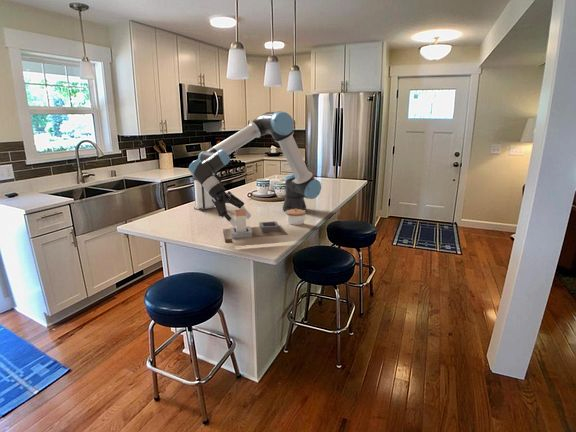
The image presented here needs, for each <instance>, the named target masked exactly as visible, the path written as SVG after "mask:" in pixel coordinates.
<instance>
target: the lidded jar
mask: <svg viewBox="0 0 576 432" xmlns="http://www.w3.org/2000/svg"><path fill="white" fill-rule="evenodd" d="M285 219H286V222H287V223H288V225H292V226H294V225H295V226H299V225H303V224H304V223H305V220H306V211H304V210H300V209H297V208H295V209H291V210H287V211H286V212H285Z"/></svg>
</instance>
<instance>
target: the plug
mask: <svg viewBox="0 0 576 432" xmlns="http://www.w3.org/2000/svg"><path fill="white" fill-rule="evenodd" d="M239 209H240V208H239ZM239 209H234V212H235V213H234V214H235V216H234V217H235V218H234V219H235V220H236V221H237V222H238V224H237V225H236V226H235V227H236V232H246V227H247V218H246V211H245V209H246V208H245V209H240V210H239Z"/></svg>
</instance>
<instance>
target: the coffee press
mask: <svg viewBox="0 0 576 432" xmlns="http://www.w3.org/2000/svg"><path fill="white" fill-rule="evenodd" d="M213 175H214V176H215V177H216V178H217V180H218V181H219V183H221V184H222V180H221V177H220V175H217V174H215V173H214V174H213ZM193 186H194V198H195V200H194V201H195V205H194V207H193V209H194V210H196V209H202V212H206V209H212V208H213V209H215V210H217V209H216V207H215V205H214V203H213V201H212V199H213V198H212V197H211V196H210V195H209V192H207V191H206V190H205V189H204V187H203V186H202V185H201V184H200V183H199V182H198V181H197V179H196V178H195V177H194V176H193Z"/></svg>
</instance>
